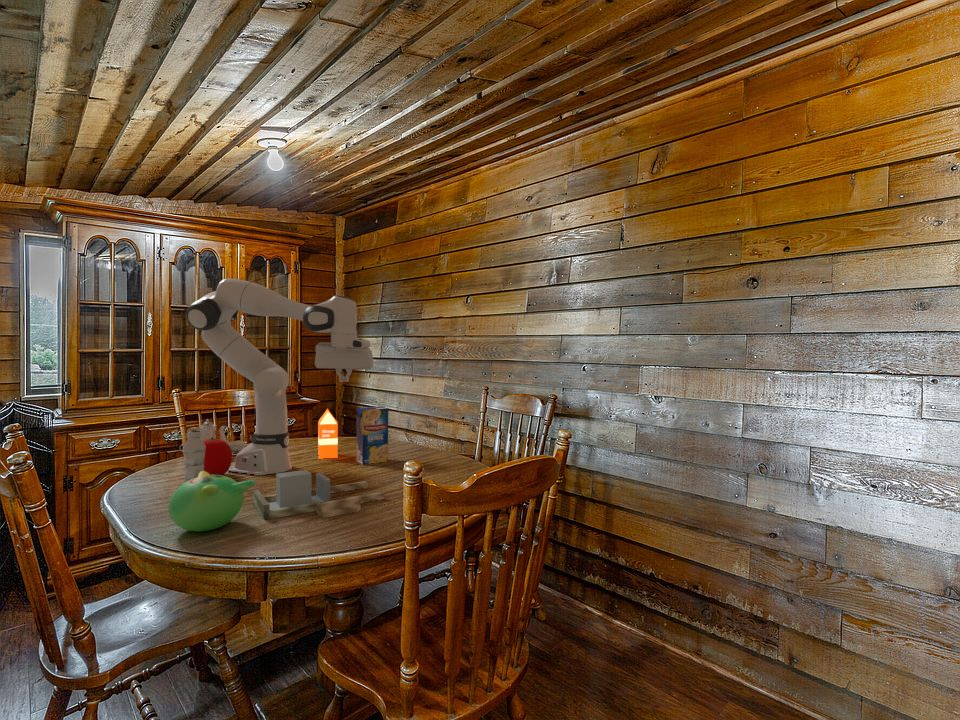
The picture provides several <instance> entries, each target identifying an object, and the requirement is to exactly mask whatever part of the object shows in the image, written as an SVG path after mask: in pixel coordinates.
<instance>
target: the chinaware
mask: <svg viewBox="0 0 960 720" xmlns="http://www.w3.org/2000/svg"><path fill="white" fill-rule="evenodd" d="M216 427H217V424H214V423H213V422H212V421H210V420H209V418H206V420H205V422H203V423H202V424H201V425H198V427H191V428H189V429H188V430H187V431H186V434H185V438H186V439H187V440H188V438H187V436H188V431H193V430H200V431H201V437H200V439H201V440H202V441H203V440H204V441H205V440H208V439H211V437H213V439H217V438H216V433H215V432H216ZM225 427H226V425H222V426H220V428H219V439H221V440H224V441H225V442H227V444H228V445H229V446H230V448H231V451H232V453H233V454H237V453H239V452H240V451H242V450H243V449H244V448H245V447H247V446H246V444H247V443H248V441H247V440H246V441H243V440H235V441H227V438H226V435H225V432H224V429H225ZM187 440H186V441H183V442H182V444H181V445H179V451H180V452H182V453H183V450H181V447H182V446H184V444H185V443H186V442H187Z"/></svg>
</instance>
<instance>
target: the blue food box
mask: <svg viewBox="0 0 960 720" xmlns="http://www.w3.org/2000/svg"><path fill="white" fill-rule="evenodd" d="M387 461H389V408H388V407H385V406H381V405H380V406H379V405H378V406H366V407H363V406H362V407H356V463H358V462H359V463H358V464H360V463H361V464H360V465H362V466H365V465H364V464H366V465H372V464H371V463H374V464H380V463H379V462H382V463H388V462H387Z"/></svg>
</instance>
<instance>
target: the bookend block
mask: <svg viewBox="0 0 960 720" xmlns="http://www.w3.org/2000/svg"><path fill="white" fill-rule="evenodd" d="M312 478H313V477H312V473H311V472H310V471H309V470H307V469H301V470H294V471H285V472H280V473H275V494H276V502H271V503H269V505H270V510H272V509H279V508H285V507H291V506H297V505H304V504H310V503H316V502H320V503H322V502H328V501H331V494H330V486H331V479H330V478H329V477H327V476H326V475H325V474H323V473H322V472H316V473H315V488H316V495H317V496H311V493H312V489H313V488H312V487H313V486H312Z"/></svg>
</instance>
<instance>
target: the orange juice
mask: <svg viewBox="0 0 960 720" xmlns="http://www.w3.org/2000/svg"><path fill="white" fill-rule="evenodd" d="M317 423H318V424H317V425H318V428H317V431H318V432H317V433H318V437H317V440H318V441H317V443H318V444H317V445H318V449H317V451H318V455H319V456H318V460H319V459H321V460H324V459H323V458H339V457H338V456H339V455H338V454H339V453H338V449H339V448H338V445H339V441H338V440H339V438H338V436H339V435H338V434H339V433H338V429H339V425H338V420H337V419H335V417H334V416H333V414H332V413H331V412H330V410H329V408H326V410H325V412H324V413H323V414H322V416H321V417H320V418H319V420H318V422H317Z"/></svg>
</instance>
